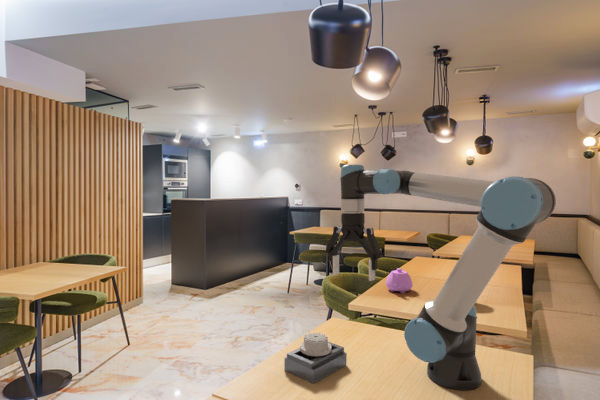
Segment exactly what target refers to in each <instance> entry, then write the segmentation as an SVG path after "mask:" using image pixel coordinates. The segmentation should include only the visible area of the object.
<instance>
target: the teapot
mask: <svg viewBox="0 0 600 400" xmlns="http://www.w3.org/2000/svg"><path fill="white" fill-rule="evenodd" d="M385 285H386V287H387V288H388V289H389V292H392V293H394V292H395V291H396V292H400V294H405V293H406V292H409V291H410V290H411V289H412V288H413V281H412V278H411V276H410V274H409V273H408V272H407V271H405V270H404V269H403V268H401V267H400V268H398V267H397V268H396V270H395V269H394V270H392V271H391V272H390V273H389V274H388V276H387V277H386V281H385Z"/></svg>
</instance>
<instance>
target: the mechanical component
mask: <svg viewBox="0 0 600 400" xmlns="http://www.w3.org/2000/svg"><path fill="white" fill-rule="evenodd" d="M328 342H329V339H328V336H327V335H326V334H324V333H321V332H319V333H318V332H308V333H306V334H304V337H303V341H302V342H301V343H300V345H299V348H300V351H301V352H302V353H303V354H306V355H309V356H324V355H327V354H329V353H330V352H331V349H332V346H331V344H330V343H331V342H330V343H328Z"/></svg>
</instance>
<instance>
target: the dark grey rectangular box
mask: <svg viewBox="0 0 600 400" xmlns="http://www.w3.org/2000/svg"><path fill="white" fill-rule="evenodd" d="M328 343H330V344H331V346H332V349H331V352H330V353H329V354H327V355H324V356H309V355H306V354H303V353H302V352H301V351H300V347H299V348H296V349H294V350H292V351H290V352H287V353H286V356H284V366H283V367H284V371H285V372H288V373H290V374H292V375H294V376H296V377H298V378H300V379H303V380H305V381H307V382H309V383H311V384H314V385H315V384H316V383H318V382H319V381H321V380H323V379H325V378H327V377H328V376H330V375H332V374H334V373H335V372H337V371H339V370H341V369H342V368H344V367H346V366H347V352H345V347H344V346H341V345H338V344H335V343H333V342H330V341H328Z"/></svg>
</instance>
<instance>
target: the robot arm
mask: <svg viewBox="0 0 600 400" xmlns="http://www.w3.org/2000/svg"><path fill="white" fill-rule="evenodd" d="M364 167H365V166H364V165H362V164H345V165H343V166H342V167H341V169H340V179H339V181H340V195H341V197H340V198H341V199H340V211H341V212H342V213H341V214H340V218H341V219H340V222H341V223H340V224H341V226H339V225H337V226H333V229H332V230H333V231H332V235H331V237H330V239H329V241H328V244H327V247H326V250H325V253H326V254H329V255H330V264H331V265H332V276H333V277H334V276H338V275H340V255H339V254H338V253H339V252H340V251H341V250H342V248H343V246H344V245H346V243H347V242H357V243H359V244H360V245H361V247H362V248H363V249H364V251H365V253H366V254H367V255H368V257H369V258H370V259H368V281H369V282H373V281H375V280H376V271H377V270H378V259H382V258H384V254H383V252H382V250H381V248H380V247H381V246H380V245H379V243H378V240H377V238H376V236H375V231H374V228H373V227H368V228H365V224H366V223H365V219H366V218H365V213H364V211H365V195H391V194H393V195H394V194H400V195H405V196H411V197H412V196H414V197H420V198H426V199H431V200H438V201H444V202H449V203H455V204H460V205H466V206H467V205H468V206H472V207H479V208H481V209H480V210H479V212H478V213H477V216H476V217H475V221H476V223H477V229H476V230H475V232H474V234H473V235H472V237H471V238H470V240H469V242H467V243H468V244H467V245H466V247H465V249H464V250H463V252H462V253H461V255H460V257H458V258H459V259H458V260H457V262H456V263H455V265H454V266H453V269H452V270H451V272H450V273H449V275H448V277H447V278H446V280H445V282H444V283H443V285H442V287H441V288H440V290H439V292H438V294H437V295H436V297H435V299H429V300H427V301H426V302H425V303H424V305H423V307H422V309H420V311H419V313H418V316H416V317H415V318H412V319H410V321H409V322H408V323H407V324H406V325H405V328H404V332H403V335H404V336H403V337H404V340H405V342H406V345H407V348H408V349H409V351H410V352H411V353H412V354H413V356H414V357H416V358H417V359H418V360H420V361H422V362H425V363H427V366H426V368H427V369H426V370H427V371H426V374H427V376H428V378H429V379H430V380H431V381H432V382H434V383H436V384H437V385H439V386H443V387H445V388H448V389H453V390H458V391H470V390H475V389H477V388H479V387H480V386H481V385H482V371H481V370H480V366H479V362H478V360H477V357H476V348H477V345H476V342H477V319H478V316H477V308H476V307H475V305H476V302H477V301H478V299H479V298H480V296H481V295H482V293H483V292H484V290H485V289H486V287H488V284H489V283H490V281H491V279H492V278H493V276H494V275H495V274H496V272H497V270H498V269H499V268H500V266H501V264H502V263H503V261H504V259H505V258H506V257H507V255H508V253H509V252H510V250H511V249H512V248H513V246H515V245H520V244H524V242H525V241H526V240H527V238H528V236H529V235H530V233H531V232H532V231H533V229H534V228H535V226H536V225H537V224H539V223H542V222H544V221H545V220H548V219H549V217H550V216H551V215H552V214H553V212H554V210H555V207H556V204H557V203H556V201H557V200H556V194H555V192H554V190H553V189H552V188H551V186H550V185H549V184H548V183H546V182H545V181H543V180H541V179H538V178H533V177H531V178H530V177H523V176H509V177H507V176H506V177H504V178H501V179H498V180H496V181H492V180H486V179H478V178H477V179H475V178H469V177H468V178H467V177H466V178H465V177H459V176H458V177H457V176H449V175H441V174H433V173H432V174H431V173H425V172H413V171H409V170H395V169H393V168H381V169H378V168H377V169H369V170H368V169H367V170H366V169H365V168H364ZM340 233H342V235H340ZM365 235H366V236H367V238H366V237H365ZM340 236H341V237H340ZM339 237H340V238H339ZM338 239H339V240H338ZM367 240H368V241H367Z"/></svg>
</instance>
